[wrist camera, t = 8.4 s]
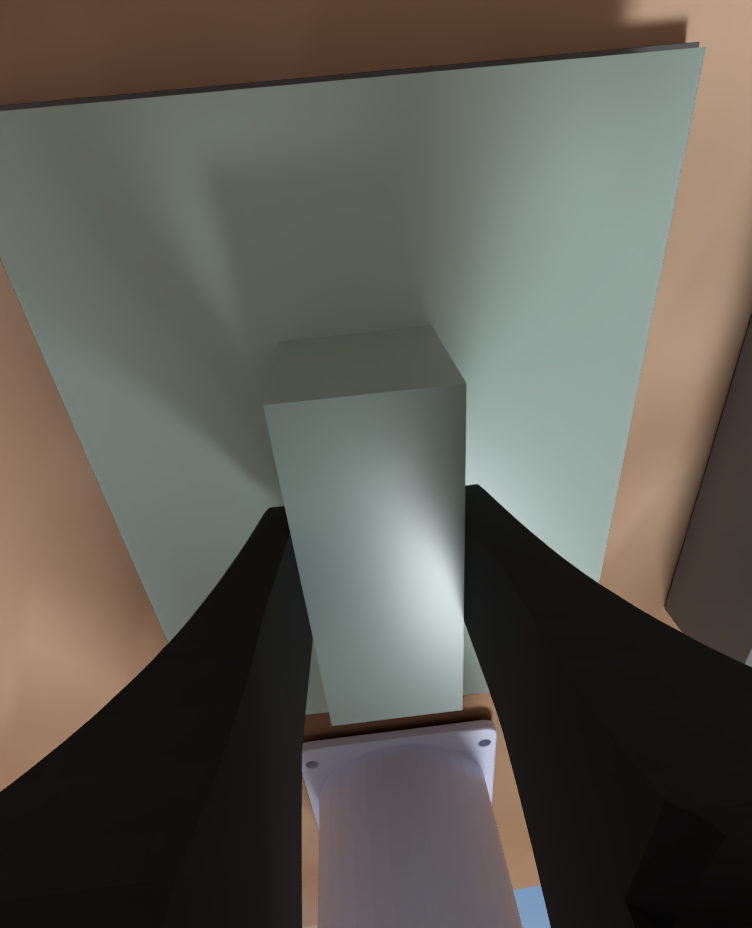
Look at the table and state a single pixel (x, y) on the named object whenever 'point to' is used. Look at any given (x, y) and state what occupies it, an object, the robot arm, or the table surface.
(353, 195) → the lid
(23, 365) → the table surface
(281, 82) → the mat
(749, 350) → the storage box
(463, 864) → the robot arm
